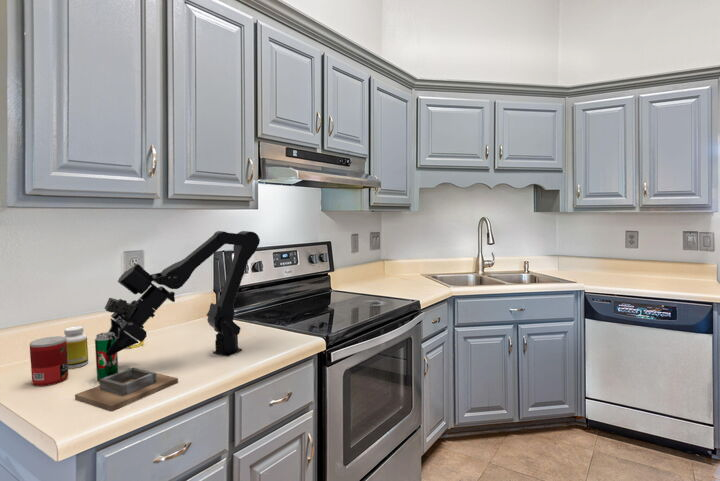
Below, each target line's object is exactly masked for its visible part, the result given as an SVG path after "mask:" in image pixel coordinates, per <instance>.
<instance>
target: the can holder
mask: <svg viewBox="0 0 720 481" xmlns="http://www.w3.org/2000/svg"><path fill="white" fill-rule="evenodd" d="M98 382H99V385H97V386H94V387H91V388H89V389H86V390H84V391H80V392H78V393H75V394H74V398H75V400H76V401H79V402H82V403H86V404H88V405H91V406H94V407H97V408H101V409H105V410H107V411H111V412H113V411H116V410H118V409H120V408H123V407H125V406H127V404H128V405H130V404H132V403H135V402H137V401H139V400H141V399H143V397H144V398H146V397H149V396H151V395H153V394H155V393H158V392H159V391H160V392H161V391H162V390H165V389H167V388H169V387H171V386H174V385H176V384H178V383H179V378H178V377H174V376H170V375H167V374H162V373H158V372H154V371H149V370H145V369H141V368H136V367H130V368H128V369H125V370H122V371H118V373H116V374H113V375H111V376H108V377H105V378H102V379H98Z"/></svg>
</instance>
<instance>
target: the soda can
mask: <svg viewBox="0 0 720 481" xmlns="http://www.w3.org/2000/svg"><path fill="white" fill-rule="evenodd" d="M116 338H117V337H116V335H115V333H114V332H109V331H107V332H101V333H97V334H96V337H95V339H94V347H95V348H94V349H95V364H96V365H95V366H96V379H97V380H99V379H102V378H105V377H108V376H111V375H113V374H116V373H119V358H118V356H119V355H118V354H119V353H118V352H117V353H115V354H113V355H111V356H107V355H106V353H107V351H108V350H109V348H110V347H111V345H112V344H113V342H114V341H115V340H116Z"/></svg>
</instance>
